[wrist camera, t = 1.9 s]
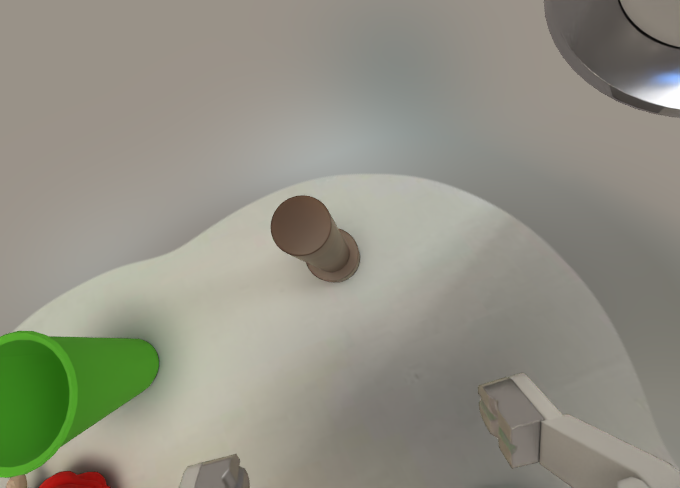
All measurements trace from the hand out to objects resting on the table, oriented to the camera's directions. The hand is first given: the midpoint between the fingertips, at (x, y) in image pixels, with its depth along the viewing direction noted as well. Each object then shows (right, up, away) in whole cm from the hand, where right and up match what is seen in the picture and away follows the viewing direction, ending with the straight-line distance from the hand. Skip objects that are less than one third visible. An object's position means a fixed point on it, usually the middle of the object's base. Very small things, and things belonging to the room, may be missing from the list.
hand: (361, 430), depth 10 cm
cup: (-21, -6, +21) cm, 30 cm away
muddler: (-1, +5, +21) cm, 21 cm away
